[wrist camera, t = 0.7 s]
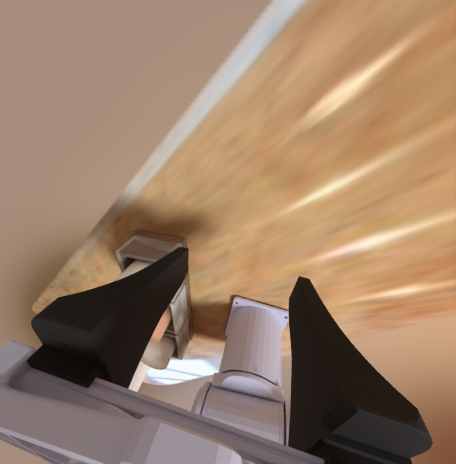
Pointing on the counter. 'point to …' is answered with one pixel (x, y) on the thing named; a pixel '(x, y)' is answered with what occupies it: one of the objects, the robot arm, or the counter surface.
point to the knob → (159, 353)
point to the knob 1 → (134, 268)
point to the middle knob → (161, 326)
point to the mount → (181, 323)
